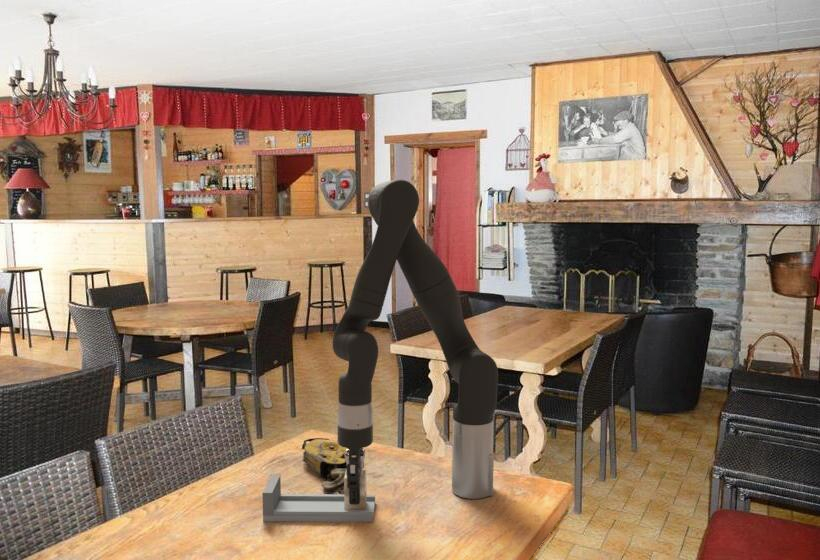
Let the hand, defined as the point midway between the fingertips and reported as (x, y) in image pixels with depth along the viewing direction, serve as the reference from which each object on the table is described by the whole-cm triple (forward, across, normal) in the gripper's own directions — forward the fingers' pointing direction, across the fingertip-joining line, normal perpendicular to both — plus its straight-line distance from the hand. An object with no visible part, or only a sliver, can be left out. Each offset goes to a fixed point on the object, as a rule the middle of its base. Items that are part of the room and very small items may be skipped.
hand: (355, 498), depth 146 cm
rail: (+3, 0, +8) cm, 8 cm away
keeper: (+2, 0, 0) cm, 2 cm away
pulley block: (+4, +21, +8) cm, 23 cm away
